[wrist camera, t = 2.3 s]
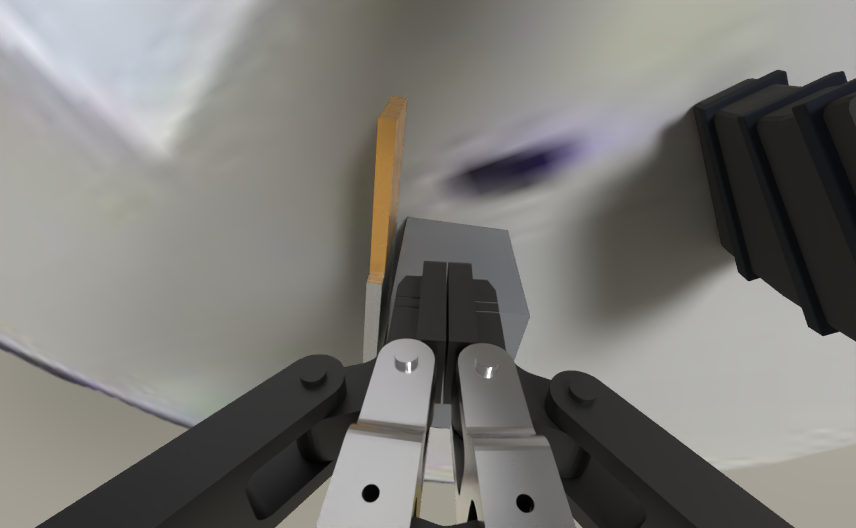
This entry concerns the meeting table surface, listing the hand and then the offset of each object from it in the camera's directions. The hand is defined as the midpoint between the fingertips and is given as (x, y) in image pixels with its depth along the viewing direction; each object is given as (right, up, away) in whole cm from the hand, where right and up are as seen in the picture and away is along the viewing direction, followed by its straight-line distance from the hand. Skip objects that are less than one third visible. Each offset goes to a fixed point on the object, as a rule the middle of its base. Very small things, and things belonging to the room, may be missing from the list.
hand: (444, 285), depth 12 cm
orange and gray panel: (-3, +3, +15) cm, 15 cm away
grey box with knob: (+1, -2, +18) cm, 18 cm away
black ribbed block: (+18, +7, +11) cm, 22 cm away
